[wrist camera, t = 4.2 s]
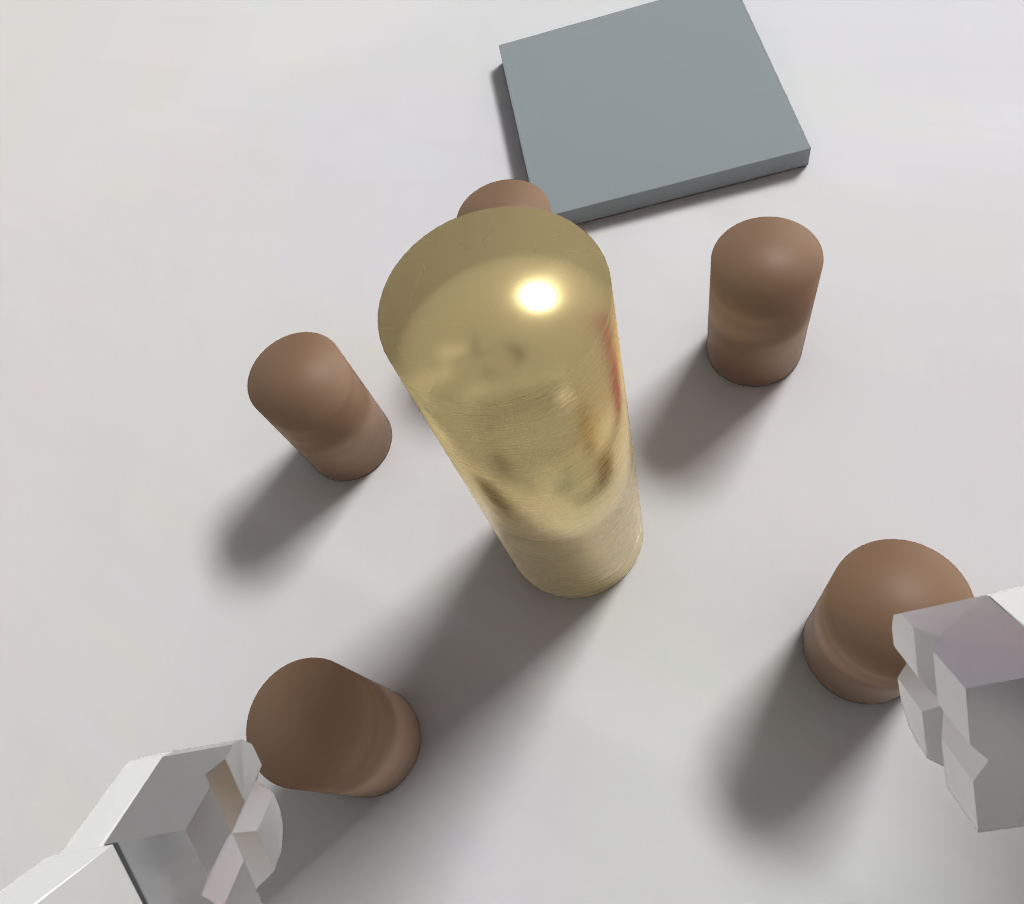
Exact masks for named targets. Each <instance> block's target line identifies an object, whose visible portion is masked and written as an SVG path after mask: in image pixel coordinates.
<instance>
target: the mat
mask: <svg viewBox="0 0 1024 904" xmlns="http://www.w3.org/2000/svg"><path fill="white" fill-rule="evenodd" d="M499 49H500V53H501V58H502V62H503V67H504V71H505V75H506V80H507V84H508V89H509V93H510V98H511V102H512V107H513V111H514V116H515V120H516V125H517V129H518V134H519V138H520V143H521V147H522V151H523V156H524V160H525V165H526V169H527V174H528V178H529V182H530V183H532V184H534V185H536V186H537V187H539V188H540V189H541V190H542V191H543V192H544V193H545V194H546V196H547V198H548V200H549V203H550V207H551V212H552V213H554V214H557V215H560V216H562V217H564V218H566V219H568V220H570V221H571V222H573V223H574V224H579V223H583V222H587V221H591V220H595V219H599V218H603V217H606V216H610V215H614V214H618V213H622V212H626V211H630V210H634V209H638V208H642V207H645V206H649V205H653V204H657V203H661V202H665V201H669V200H673V199H677V198H681V197H684V196H688V195H692V194H696V193H700V192H704V191H708V190H712V189H716V188H720V187H723V186H727V185H731V184H735V183H739V182H743V181H747V180H751V179H755V178H759V177H763V176H766V175H770V174H774V173H778V172H782V171H786V170H790V169H794V168H798V167H802V166H805V165H808V160H809V155H810V150H811V147H810V145H809V143H808V141H807V139H806V137H805V135H804V132H803V130H802V128H801V126H800V124H799V122H798V119H797V117H796V115H795V113H794V111H793V109H792V106H791V104H790V102H789V100H788V98H787V96H786V94H785V91H784V89H783V87H782V85H781V83H780V81H779V78H778V76H777V74H776V72H775V70H774V68H773V66H772V63H771V61H770V59H769V57H768V55H767V53H766V50H765V48H764V46H763V44H762V42H761V40H760V38H759V35H758V33H757V31H756V29H755V27H754V25H753V22H752V20H751V18H750V16H749V14H748V12H747V10H746V7H745V5H744V3H743V1H742V0H658V1H654V2H651V3H647V4H644V5H640V6H637V7H633V8H630V9H626V10H622V11H619V12H615V13H612V14H608V15H605V16H601V17H598V18H594V19H591V20H587V21H584V22H580V23H577V24H573V25H569V26H566V27H562V28H559V29H555V30H552V31H548V32H545V33H541V34H538V35H534V36H531V37H527V38H523V39H520V40H516V41H513V42H509V43H506V44H502V45H499Z"/></svg>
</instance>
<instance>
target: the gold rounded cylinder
mask: <svg viewBox="0 0 1024 904" xmlns="http://www.w3.org/2000/svg"><path fill="white" fill-rule="evenodd" d="M378 330H379V336H380V340H381V343H382V346H383V349H384V352H385V353H386V355H387V357H388V359H389V361H390V363H391V364H392V366H393V367H394V369H395V371H396V372H397V374H398V376H399V377H400V379H401V380H402V382H403V384H404V385H405V387H406V389H407V390H408V392H409V393H410V395H411V397H412V398H413V400H414V401H415V403H416V405H417V406H418V408H419V410H420V411H421V413H422V414H423V416H424V418H425V419H426V421H427V423H428V424H429V426H430V427H431V429H432V431H433V432H434V434H435V436H436V437H437V439H438V440H439V442H440V444H441V445H442V447H443V448H444V450H445V452H446V453H447V455H448V457H449V458H450V460H451V461H452V463H453V465H454V466H455V468H456V470H457V471H458V473H459V474H460V476H461V478H462V479H463V481H464V483H465V484H466V486H467V487H468V489H469V491H470V492H471V494H472V495H473V497H474V499H475V500H476V502H477V504H478V505H479V507H480V508H481V510H482V512H483V513H484V515H485V517H486V518H487V520H488V521H489V523H490V525H491V526H492V528H493V530H494V531H495V533H496V534H497V536H498V538H499V539H500V541H501V542H502V544H503V546H504V547H505V549H506V551H507V552H508V554H509V555H510V557H511V559H512V560H513V562H514V564H515V565H516V567H517V568H518V570H519V571H520V572H521V574H522V575H523V576H524V577H525V578H526V579H527V580H528V581H529V582H530V583H531V584H533V585H534V586H535V587H537V588H539V589H540V590H542V591H544V592H546V593H549V594H551V595H555V596H559V597H566V598H581V597H588V596H592V595H595V594H598V593H600V592H603V591H605V590H607V589H609V588H610V587H612V586H614V585H615V584H616V583H618V582H619V581H620V580H621V579H622V578H623V577H624V576H625V575H626V574H627V573H628V572H629V571H630V569H631V568H632V567H633V565H634V563H635V561H636V560H637V557H638V555H639V552H640V549H641V545H642V540H643V523H642V515H641V507H640V500H639V492H638V484H637V476H636V469H635V461H634V453H633V446H632V438H631V430H630V422H629V415H628V407H627V399H626V392H625V384H624V376H623V369H622V361H621V353H620V345H619V338H618V330H617V322H616V315H615V307H614V299H613V291H612V284H611V278H610V272H609V268H608V265H607V263H606V260H605V257H604V256H603V254H602V252H601V250H600V248H599V247H598V245H597V244H596V243H595V242H594V240H593V239H592V238H591V237H590V236H589V235H588V234H587V233H586V232H585V231H584V230H583V229H582V228H580V227H579V226H577V225H576V224H574V223H573V222H571V221H570V220H568V219H566V218H564V217H562V216H560V215H557V214H554V213H551V212H548V211H545V210H540V209H536V208H529V207H520V206H506V207H495V208H488V209H483V210H479V211H475V212H472V213H468V214H465V215H462V216H460V217H457V218H455V219H453V220H450V221H448V222H446V223H444V224H443V225H441V226H439V227H437V228H435V229H434V230H432V231H431V232H430V233H428V234H427V235H425V236H424V237H423V238H421V239H420V240H419V241H418V242H417V243H415V244H414V245H413V246H412V247H411V248H410V249H409V250H408V251H407V252H406V253H405V254H404V256H403V257H402V258H401V259H400V261H399V262H398V263H397V265H396V266H395V268H394V269H393V271H392V273H391V274H390V276H389V278H388V280H387V282H386V284H385V287H384V289H383V292H382V296H381V299H380V303H379V310H378Z"/></svg>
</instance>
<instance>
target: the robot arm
mask: <svg viewBox="0 0 1024 904" xmlns="http://www.w3.org/2000/svg"><path fill="white" fill-rule="evenodd" d="M892 633H893V642H894V646H895V648H896V649H897V650H898V652H899V653H900V654H901V656H902V657H903V658H904V660H905V661H906V662H907V663H906V665H905V667H904V668H903V670H902V671H901V673H900V675H899V676H898V684H899V691H900V697H901V703H902V706H903V709H904V713H905V716H906V719H907V722H908V725H909V727H910V729H911V731H912V734H913V736H914V738H915V740H916V742H917V743H918V745H919V746H920V748H921V749H922V751H923V753H924V754H925V756H926V757H927V758H928V759H930V760H932V761H934V762H936V763H938V764H940V765H942V766H944V768H945V777H946V786H947V788H948V790H949V791H950V792H951V794H952V795H953V797H954V798H955V800H956V801H957V803H958V804H959V806H960V807H961V808H962V810H963V811H964V813H965V814H966V816H967V817H968V819H969V820H970V821H971V823H972V824H973V826H974V827H975V829H976V830H977V832H985V831H993V830H1000V829H1008V828H1015V827H1023V826H1024V586H1020V587H1016V588H1012V589H1007V590H1003V591H998V592H994V593H990V594H985V595H981V596H979V597H975V598H970V599H965V600H961V601H956V602H951V603H947V604H942V605H937V606H932V607H928V608H923V609H918V610H914V611H909V612H904V613H900V614H895V615H893V623H892ZM261 766H262V764H261V762H260V760H259V758H258V756H257V754H256V751H255V749H254V747H253V745H252V744H251V743H248V742H246V741H244V740H242V739H241V740H235V741H230V742H224V743H218V744H212V745H206V746H200V747H194V748H188V749H183V750H177V751H173V752H164V753H160V754H155V755H150V756H145V757H140V758H137V759H135V760H132V761H130V762H128V763H127V764H126V765H125V766H124V768H123V769H122V770H121V772H120V773H119V775H118V776H117V777H116V779H115V780H114V781H113V783H112V784H111V786H110V787H109V788H108V790H107V791H106V792H105V794H104V795H103V796H102V798H101V799H100V801H99V802H98V803H97V805H96V806H95V807H94V809H93V810H92V812H91V813H90V814H89V816H88V817H87V818H86V820H85V821H84V822H83V824H82V825H81V827H80V828H79V829H78V831H77V832H76V833H75V835H74V836H73V838H72V839H71V840H70V842H69V843H68V844H67V846H66V847H65V848H64V850H63V851H62V853H61V854H57V855H51V856H48V857H47V858H46V859H44V860H43V861H41V862H40V863H39V864H37V865H36V866H34V867H33V868H32V869H30V870H29V871H27V872H26V873H25V874H23V875H22V876H21V877H19V878H18V879H16V880H15V881H14V882H12V883H11V884H9V885H8V886H7V887H5V888H4V889H3V890H1V891H0V904H262V901H261V898H260V896H259V894H258V891H257V888H258V887H259V886H260V885H261V884H262V883H263V882H264V881H265V880H266V879H267V878H268V877H269V876H270V875H271V874H272V873H273V872H274V870H275V868H276V865H277V862H278V859H279V857H280V854H281V850H282V837H283V823H282V818H281V812H280V808H279V805H278V803H277V800H276V798H275V795H274V793H273V792H272V791H270V790H269V789H267V788H266V787H265V786H263V785H262V784H260V783H259V782H257V778H258V775H259V772H260V769H261Z"/></svg>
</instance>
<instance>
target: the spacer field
mask: <svg viewBox="0 0 1024 904" xmlns="http://www.w3.org/2000/svg"><path fill="white" fill-rule="evenodd" d="M506 206H520V207H529V208H536V209H540V210H545V211H548V212H551V207H550V203H549V200H548V198H547V196H546V194H545V193H544V192H543V191H542V190H541V189H540V188H539V187H537V186H536V185H534V184H532V183H530V182H527V181H523V180H515V179H508V180H500V181H496V182H493V183H490V184H487V185H485V186H483V187H481V188H479V189H478V190H476V191H475V192H474V193H472V194H471V195H470V196H469V197H468V198H467V199H466V200H465V202H464V203H463V204H462V206H461V208H460V210H459V212H458V215H457V217H460V216H462V215H465V214H468V213H472V212H475V211H479V210H483V209H488V208H495V207H506ZM551 213H552V212H551ZM822 267H823V251H822V248H821V245H820V243H819V241H818V240H817V238H816V237H815V236H814V235H813V234H812V233H811V232H810V231H809V230H808V229H807V228H805V227H804V226H802V225H800V224H799V223H796V222H794V221H791V220H788V219H784V218H779V217H758V218H753V219H749V220H746V221H743V222H740V223H738V224H736V225H734V226H733V227H731V228H730V229H728V230H727V231H726V232H725V233H724V234H723V235H722V236H721V237H720V238H719V239H718V241H717V242H716V244H715V246H714V248H713V251H712V256H711V273H710V294H709V315H708V336H707V353H708V357H709V360H710V362H711V364H712V366H713V367H714V368H715V370H716V371H717V372H718V373H719V374H720V375H722V376H723V377H724V378H726V379H728V380H730V381H732V382H734V383H737V384H741V385H746V386H764V385H769V384H772V383H775V382H777V381H779V380H781V379H783V378H785V377H786V376H787V375H789V374H790V373H791V372H792V371H793V370H794V368H795V367H796V366H797V364H798V362H799V360H800V357H801V353H802V349H803V345H804V341H805V337H806V333H807V329H808V324H809V320H810V316H811V312H812V308H813V304H814V300H815V296H816V292H817V287H818V283H819V279H820V275H821V271H822ZM248 394H249V398H250V400H251V402H252V404H253V405H254V407H255V408H256V409H257V410H258V411H259V412H260V413H261V414H262V415H263V416H264V417H265V418H266V419H267V420H268V421H269V422H270V423H271V424H272V425H273V426H274V427H275V428H276V429H277V430H278V431H279V432H280V433H281V434H282V435H283V436H284V437H285V438H286V439H287V440H288V441H289V442H290V443H291V444H292V445H293V446H294V447H295V448H296V449H297V450H298V451H299V452H300V453H301V454H302V455H303V456H304V457H305V458H306V459H307V460H308V461H309V462H310V463H311V464H312V465H313V466H314V467H315V468H316V469H317V470H318V471H319V472H320V473H321V474H323V475H324V476H326V477H328V478H330V479H333V480H339V481H348V480H354V479H357V478H360V477H363V476H365V475H367V474H368V473H370V472H371V471H373V470H374V469H375V468H376V467H377V466H378V465H379V464H380V463H381V462H382V461H383V459H384V458H385V457H386V455H387V453H388V451H389V448H390V445H391V441H392V429H391V425H390V422H389V420H388V418H387V417H386V415H385V414H384V412H383V411H382V410H381V408H380V407H379V405H378V404H377V403H376V401H375V400H374V398H373V397H372V396H371V394H370V393H369V391H368V390H367V388H366V387H365V386H364V384H363V383H362V381H361V380H360V379H359V377H358V376H357V374H356V373H355V371H354V370H353V369H352V367H351V366H350V364H349V363H348V362H347V360H346V359H345V357H344V356H343V355H342V353H341V352H340V350H339V349H338V347H337V346H336V345H335V343H333V342H332V341H331V340H330V339H329V338H327V337H325V336H323V335H321V334H318V333H312V332H301V333H295V334H291V335H288V336H285V337H283V338H281V339H279V340H277V341H275V342H274V343H273V344H271V345H270V346H269V347H267V348H266V349H265V350H264V351H263V352H262V353H261V354H260V356H259V357H258V358H257V359H256V361H255V363H254V364H253V366H252V368H251V371H250V374H249V378H248ZM970 598H974V596H973V594H972V591H971V589H970V587H969V585H968V583H967V581H966V579H965V578H964V577H963V575H962V574H961V572H960V571H959V570H958V569H957V568H956V567H955V566H954V565H953V564H952V563H951V562H950V561H949V560H948V559H946V558H945V557H944V556H942V555H941V554H940V553H938V552H936V551H934V550H933V549H931V548H928V547H926V546H924V545H921V544H918V543H915V542H911V541H906V540H898V539H885V540H878V541H874V542H870V543H867V544H865V545H862V546H860V547H858V548H857V549H855V550H853V551H852V552H851V553H849V554H848V555H847V556H846V557H845V558H844V559H843V560H842V561H841V562H840V564H839V565H838V567H837V568H836V570H835V572H834V574H833V575H832V577H831V579H830V581H829V582H828V584H827V586H826V588H825V589H824V591H823V593H822V595H821V596H820V598H819V600H818V602H817V603H816V605H815V607H814V609H813V610H812V612H811V614H810V616H809V618H808V620H807V622H806V624H805V628H804V632H803V650H804V654H805V658H806V660H807V663H808V665H809V667H810V669H811V671H812V672H813V674H814V675H815V676H816V678H817V679H818V680H819V681H820V682H821V683H822V684H823V685H824V686H825V687H826V688H827V689H829V690H830V691H831V692H833V693H834V694H836V695H838V696H840V697H842V698H844V699H847V700H849V701H853V702H856V703H862V704H878V703H884V702H888V701H890V700H893V699H895V698H897V697H899V696H900V691H899V684H898V676H899V675H900V673H901V671H902V670H903V668H904V667H905V665H906V663H907V662H906V661H905V660H904V658H903V657H902V656H901V654H900V653H899V652H898V650H897V649H896V648H895V646H894V642H893V633H892V623H893V615H895V614H900V613H904V612H909V611H914V610H918V609H923V608H928V607H932V606H937V605H942V604H947V603H951V602H956V601H961V600H965V599H970ZM246 737H247V742H248V743H251V744H252V745H253V747H254V749H255V751H256V754H257V756H258V758H259V760H260V762H261V764H262V766H261V769H260V773H261V774H262V775H263V776H264V777H265V778H267V779H268V780H269V781H271V782H272V783H274V784H276V785H278V786H281V787H284V788H289V789H297V790H305V791H313V792H321V793H329V794H337V795H346V796H354V797H364V798H369V797H376V796H380V795H382V794H385V793H387V792H389V791H391V790H392V789H394V788H395V787H396V786H398V785H399V784H400V783H401V782H402V781H403V780H404V779H405V778H406V776H407V775H408V774H409V772H410V771H411V769H412V768H413V765H414V763H415V761H416V758H417V755H418V752H419V747H420V728H419V723H418V720H417V717H416V714H415V712H414V710H413V709H412V707H411V706H410V704H409V703H408V702H407V701H406V700H405V699H404V698H403V697H401V696H400V695H399V694H397V693H395V692H393V691H391V690H389V689H387V688H385V687H383V686H381V685H379V684H377V683H375V682H373V681H371V680H369V679H367V678H365V677H363V676H361V675H359V674H357V673H355V672H353V671H351V670H349V669H347V668H345V667H343V666H341V665H339V664H337V663H335V662H333V661H330V660H327V659H323V658H305V659H300V660H297V661H294V662H292V663H289V664H287V665H285V666H284V667H282V668H280V669H279V670H278V671H276V672H275V673H274V674H273V675H272V676H271V677H270V678H268V680H267V681H266V682H265V683H264V684H263V686H262V687H261V688H260V690H259V691H258V693H257V695H256V697H255V699H254V701H253V703H252V705H251V708H250V711H249V715H248V720H247V728H246Z"/></svg>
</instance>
